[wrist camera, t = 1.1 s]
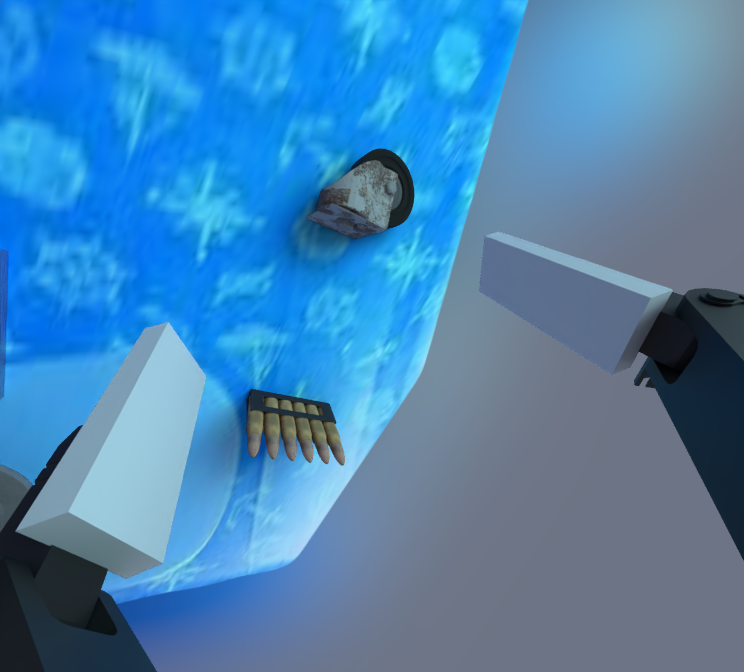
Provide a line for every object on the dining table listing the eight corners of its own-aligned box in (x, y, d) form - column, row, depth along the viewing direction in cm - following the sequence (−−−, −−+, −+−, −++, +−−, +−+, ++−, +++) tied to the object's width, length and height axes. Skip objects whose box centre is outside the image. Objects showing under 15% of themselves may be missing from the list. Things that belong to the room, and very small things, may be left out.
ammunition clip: (329, 403, 39) (354, 457, 29) (325, 415, 40) (348, 473, 29) (250, 388, 35) (244, 446, 24) (246, 402, 35) (238, 465, 24)
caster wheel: (396, 182, 38) (381, 255, 38) (322, 134, 31) (304, 222, 31) (433, 164, 32) (416, 249, 33) (352, 102, 26) (331, 209, 26)
